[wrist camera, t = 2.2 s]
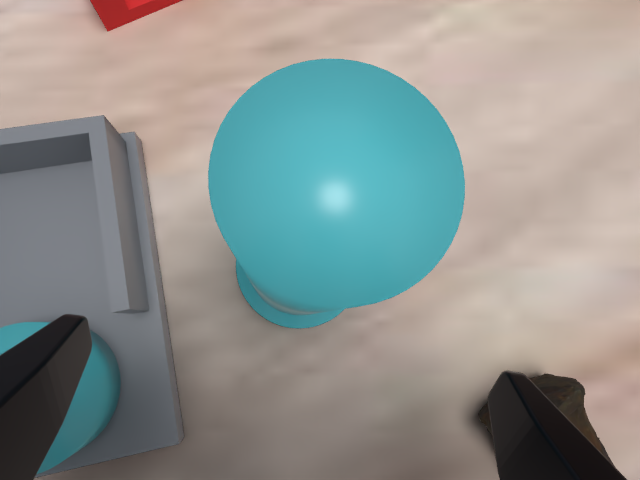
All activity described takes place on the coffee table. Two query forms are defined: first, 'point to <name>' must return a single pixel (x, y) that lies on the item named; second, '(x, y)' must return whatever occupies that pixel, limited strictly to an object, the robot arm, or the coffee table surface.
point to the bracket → (126, 10)
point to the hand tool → (561, 405)
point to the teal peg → (333, 189)
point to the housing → (89, 282)
